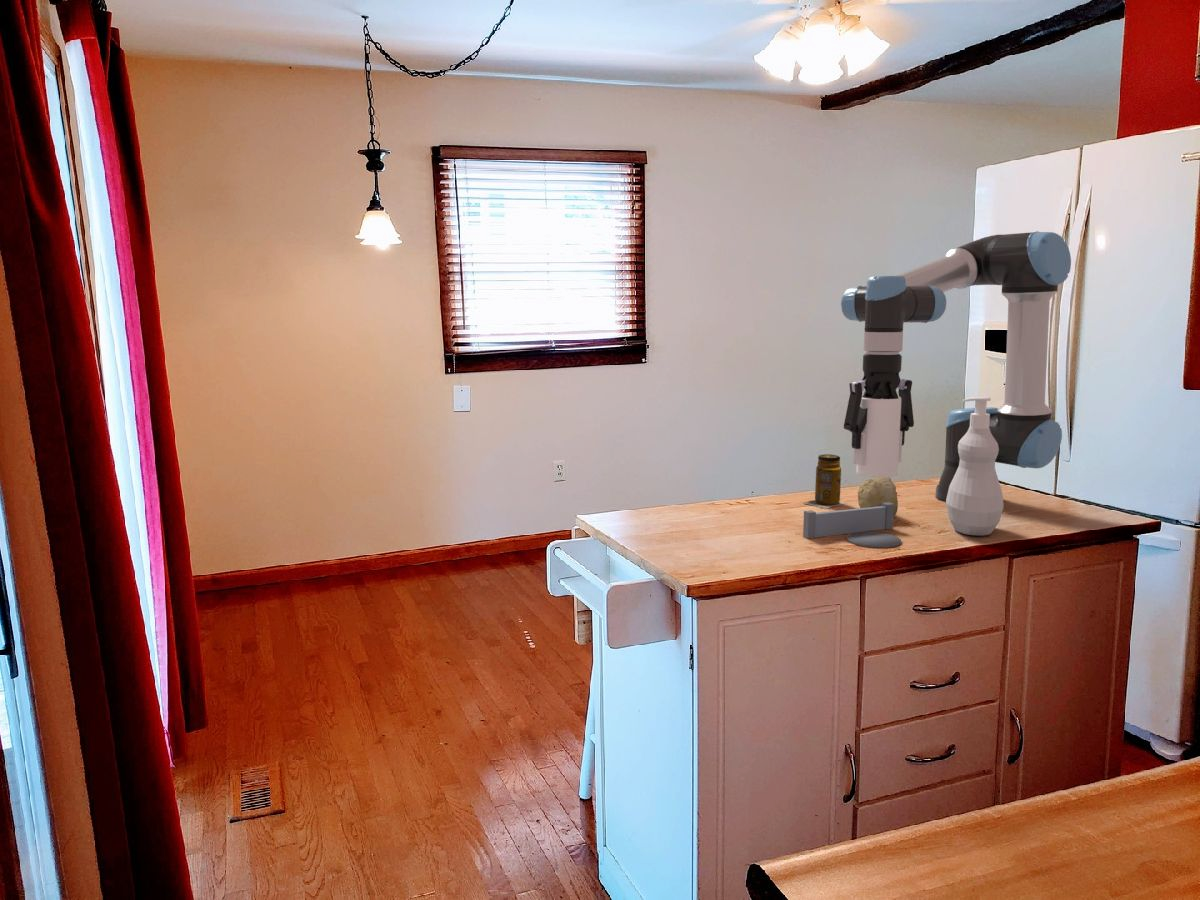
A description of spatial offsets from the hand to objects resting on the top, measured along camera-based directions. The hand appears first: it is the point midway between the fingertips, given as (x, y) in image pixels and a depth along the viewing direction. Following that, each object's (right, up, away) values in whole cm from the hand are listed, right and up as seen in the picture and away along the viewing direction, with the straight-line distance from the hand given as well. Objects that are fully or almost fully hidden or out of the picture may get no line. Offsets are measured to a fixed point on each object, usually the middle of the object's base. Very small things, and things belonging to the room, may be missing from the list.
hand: (877, 462), depth 185 cm
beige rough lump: (+7, -13, +24) cm, 28 cm away
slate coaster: (0, -16, +3) cm, 17 cm away
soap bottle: (+24, -15, +10) cm, 30 cm away
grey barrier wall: (-3, -15, +10) cm, 18 cm away
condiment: (-2, -11, +37) cm, 38 cm away
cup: (0, -2, 0) cm, 2 cm away
